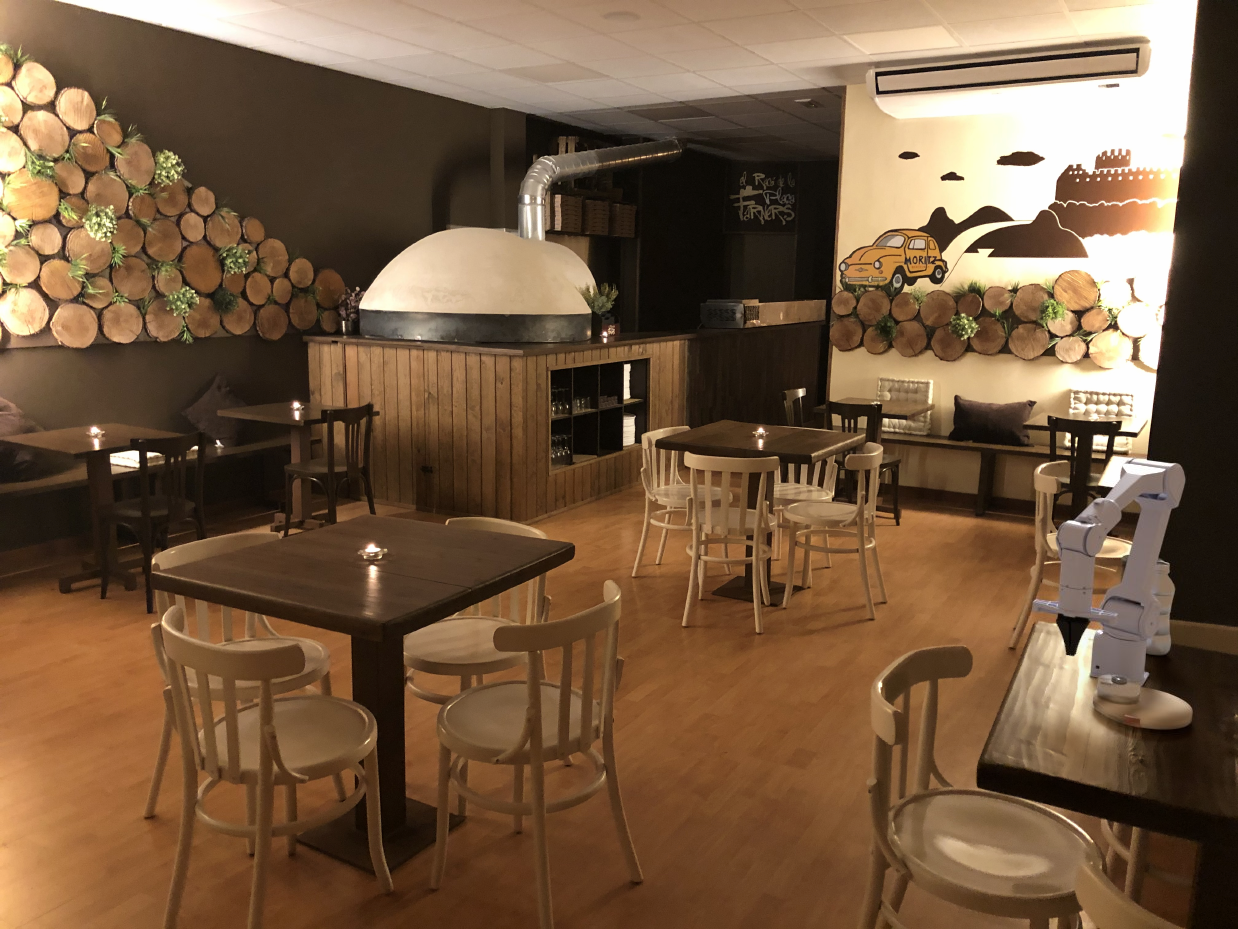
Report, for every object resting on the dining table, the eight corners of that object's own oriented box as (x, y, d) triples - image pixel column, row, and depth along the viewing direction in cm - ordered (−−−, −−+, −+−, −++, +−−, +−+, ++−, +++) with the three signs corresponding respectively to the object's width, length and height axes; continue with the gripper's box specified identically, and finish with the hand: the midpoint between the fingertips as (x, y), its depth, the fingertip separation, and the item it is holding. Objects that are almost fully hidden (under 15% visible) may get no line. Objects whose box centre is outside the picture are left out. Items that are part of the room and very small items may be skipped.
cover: (1092, 698, 179) (1094, 680, 179) (1101, 686, 185) (1103, 668, 184) (1134, 708, 175) (1136, 689, 174) (1142, 695, 180) (1144, 677, 180)
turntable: (1082, 714, 176) (1083, 706, 176) (1103, 686, 189) (1104, 678, 188) (1183, 738, 166) (1184, 729, 166) (1198, 706, 179) (1199, 699, 179)
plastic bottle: (1174, 659, 204) (1182, 568, 201) (1139, 657, 206) (1147, 566, 202) (1164, 649, 211) (1172, 559, 207) (1130, 647, 212) (1137, 558, 209)
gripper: (1029, 583, 183) (1024, 651, 185) (1113, 597, 174) (1107, 669, 176) (1040, 574, 188) (1035, 641, 191) (1122, 588, 179) (1116, 658, 182)
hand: (1071, 654), depth 184 cm, fingers closed
